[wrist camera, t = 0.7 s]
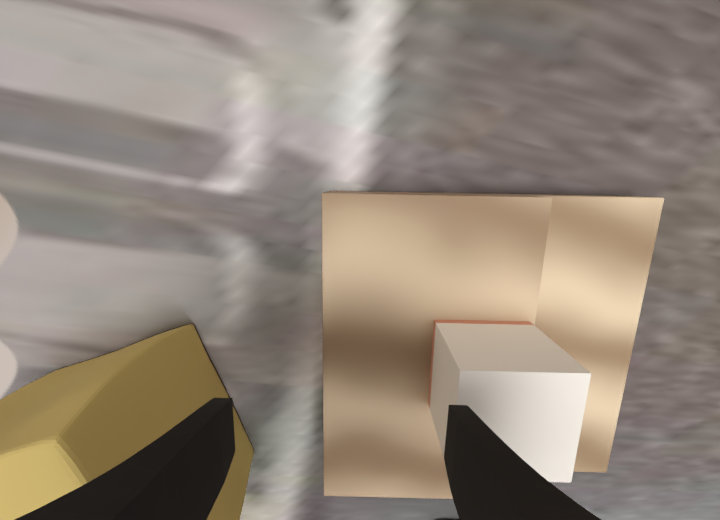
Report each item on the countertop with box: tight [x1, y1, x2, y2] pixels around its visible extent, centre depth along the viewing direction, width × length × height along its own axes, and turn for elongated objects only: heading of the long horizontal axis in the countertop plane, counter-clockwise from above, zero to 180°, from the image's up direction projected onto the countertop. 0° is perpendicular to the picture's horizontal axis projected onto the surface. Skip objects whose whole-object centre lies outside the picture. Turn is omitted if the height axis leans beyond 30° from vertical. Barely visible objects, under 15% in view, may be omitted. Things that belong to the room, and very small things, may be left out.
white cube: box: [428, 320, 591, 482], centre depth 15 cm, size 4×4×4 cm
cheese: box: [0, 324, 254, 520], centre depth 17 cm, size 10×11×10 cm
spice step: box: [322, 191, 664, 499], centre depth 19 cm, size 16×16×4 cm
